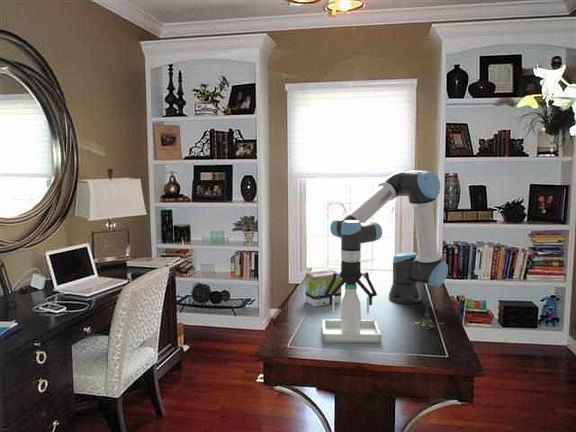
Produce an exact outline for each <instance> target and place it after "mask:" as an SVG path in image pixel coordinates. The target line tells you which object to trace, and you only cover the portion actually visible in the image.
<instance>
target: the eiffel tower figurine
mask: <svg viewBox="0 0 576 432" xmlns="http://www.w3.org/2000/svg"><path fill="white" fill-rule="evenodd" d="M425 303H426V304H425V311H424V315H423V317H422V318H421V320H418V321H419V322H415V324H418V327H420V328H423V329H424V330H425V329H426V330H431V329H432V328H435V327H437V326H436V325H435V323H434V321H433V320H432V319H431V317H430V312H429V311H430V310H429V299H428V295H427V297H426V302H425ZM420 321H421V322H420ZM422 323H423V324H422ZM438 323H439V325H445V322H440V321H439V322H437V323H436V324H438ZM408 329H412V327H409V326H408Z"/></svg>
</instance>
